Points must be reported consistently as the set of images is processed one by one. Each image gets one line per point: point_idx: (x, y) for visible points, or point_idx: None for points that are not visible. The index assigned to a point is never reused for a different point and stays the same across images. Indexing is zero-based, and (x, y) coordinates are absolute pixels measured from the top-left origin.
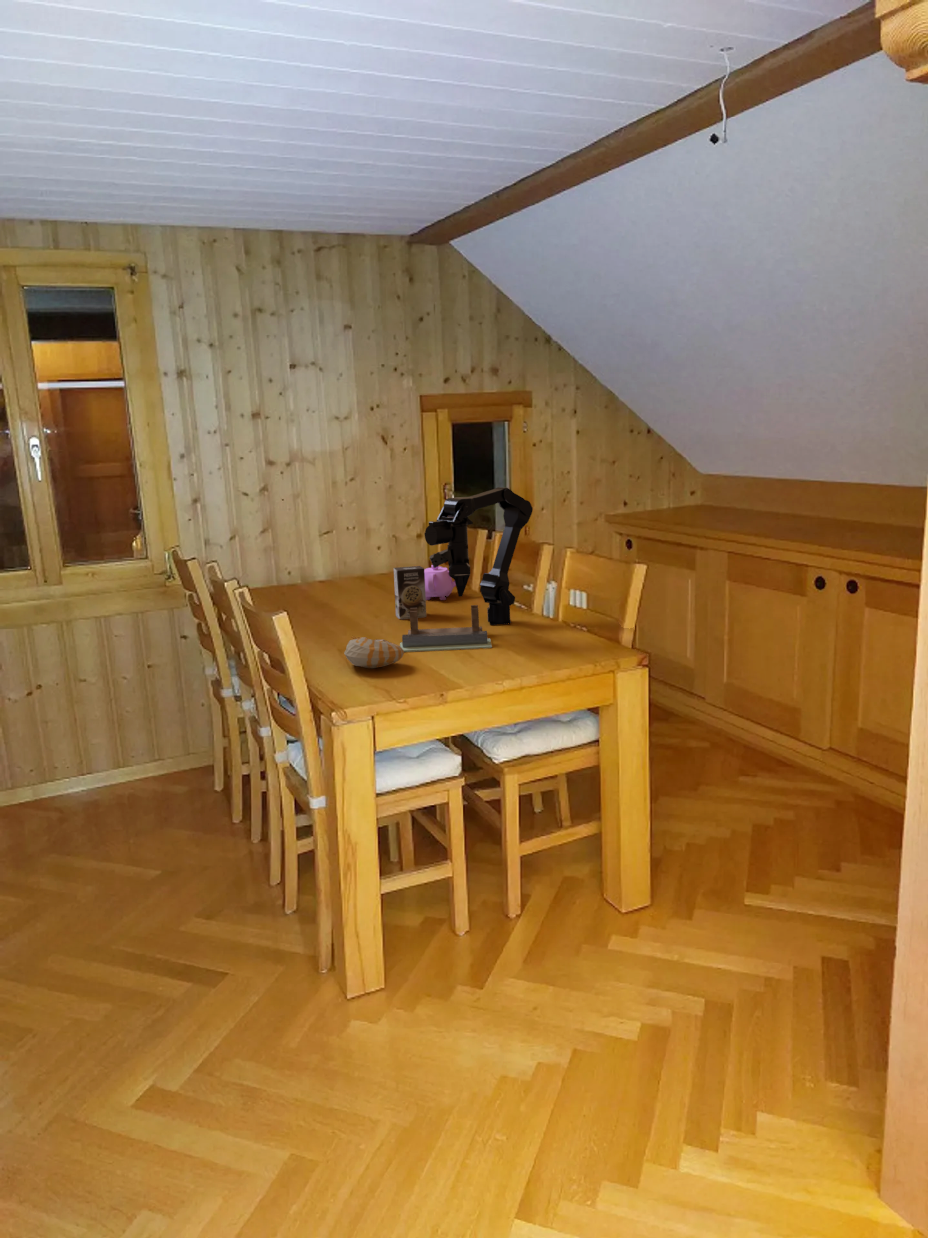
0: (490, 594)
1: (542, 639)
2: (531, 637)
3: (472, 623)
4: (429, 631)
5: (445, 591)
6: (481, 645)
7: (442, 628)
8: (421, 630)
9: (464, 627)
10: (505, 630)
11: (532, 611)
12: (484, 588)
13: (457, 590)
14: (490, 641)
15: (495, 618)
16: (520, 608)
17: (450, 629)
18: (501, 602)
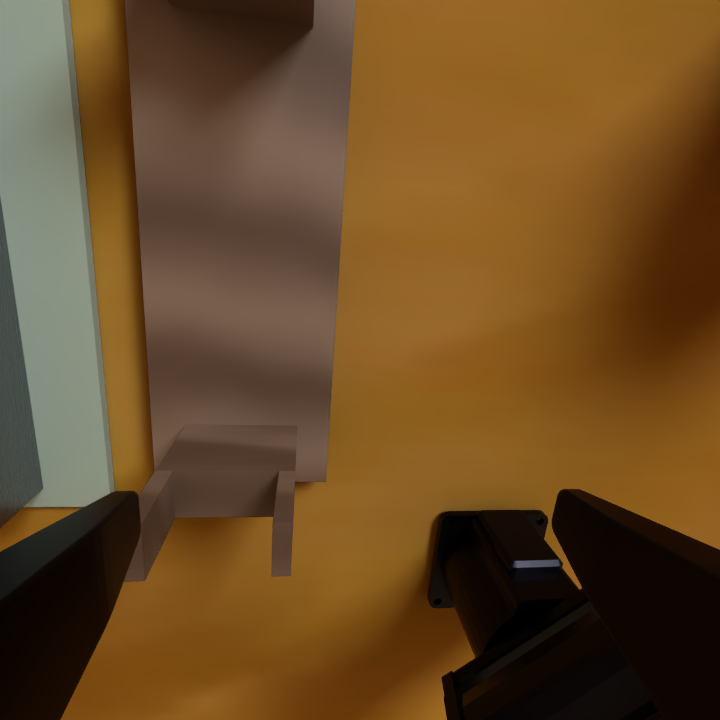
0: (504, 702)
1: (102, 716)
2: (149, 676)
3: (166, 455)
4: (267, 124)
5: None
6: None
7: (336, 234)
8: (313, 57)
9: (328, 383)
10: (319, 574)
11: None
12: (605, 708)
13: (11, 548)
14: (29, 505)
15: (461, 560)
16: None
17: (294, 289)
18: (449, 696)
